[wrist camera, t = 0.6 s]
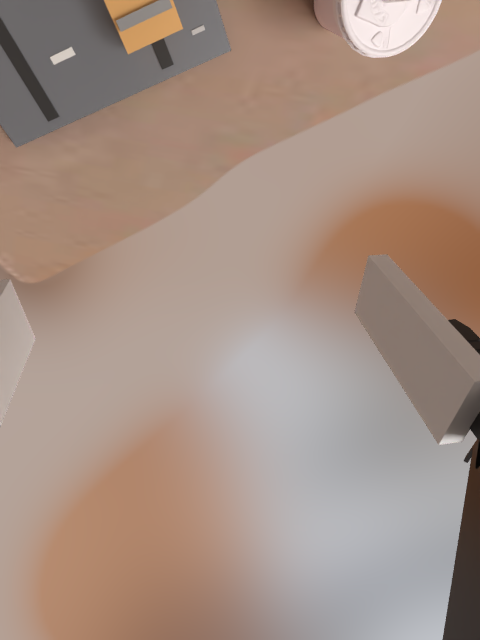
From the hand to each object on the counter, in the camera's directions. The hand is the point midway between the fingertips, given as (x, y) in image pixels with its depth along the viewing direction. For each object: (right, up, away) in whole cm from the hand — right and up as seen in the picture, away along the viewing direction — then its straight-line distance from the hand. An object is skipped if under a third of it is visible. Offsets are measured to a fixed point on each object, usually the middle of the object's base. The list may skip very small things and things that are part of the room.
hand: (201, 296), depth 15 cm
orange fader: (-5, +21, +13) cm, 25 cm away
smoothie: (+9, +24, +15) cm, 30 cm away
